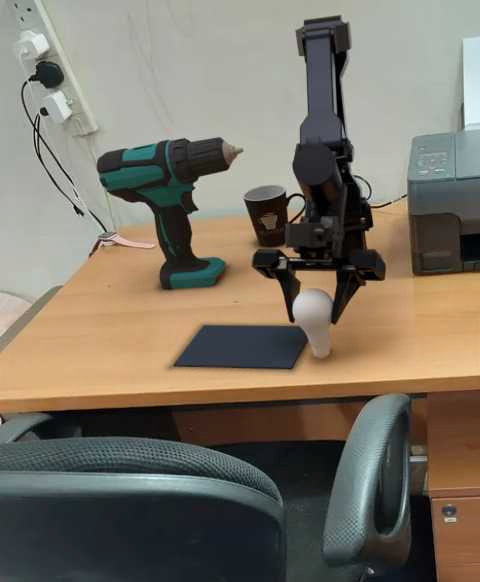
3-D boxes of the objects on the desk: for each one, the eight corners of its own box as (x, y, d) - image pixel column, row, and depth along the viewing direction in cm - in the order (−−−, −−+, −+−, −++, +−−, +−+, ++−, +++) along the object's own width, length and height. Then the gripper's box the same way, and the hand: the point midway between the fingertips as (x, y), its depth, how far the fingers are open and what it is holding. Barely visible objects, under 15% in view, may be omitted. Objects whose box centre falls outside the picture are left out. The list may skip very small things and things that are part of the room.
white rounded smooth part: (306, 372, 97) (293, 305, 90) (299, 351, 102) (285, 286, 95) (346, 362, 98) (336, 294, 91) (337, 342, 102) (326, 277, 96)
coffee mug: (247, 249, 135) (235, 200, 129) (263, 232, 142) (253, 185, 135) (299, 250, 132) (290, 200, 126) (314, 232, 138) (306, 184, 132)
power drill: (274, 262, 129) (245, 125, 113) (264, 283, 122) (232, 140, 106) (148, 271, 133) (103, 140, 117) (132, 292, 126) (82, 155, 110)
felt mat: (313, 327, 107) (313, 326, 107) (292, 369, 98) (291, 367, 98) (203, 326, 112) (203, 325, 112) (173, 366, 103) (173, 364, 103)
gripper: (241, 193, 91) (227, 305, 90) (371, 190, 85) (359, 309, 84) (273, 226, 101) (261, 326, 100) (391, 225, 96) (380, 331, 95)
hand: (312, 323), depth 95 cm, fingers closed on white rounded smooth part, 6 cm apart
